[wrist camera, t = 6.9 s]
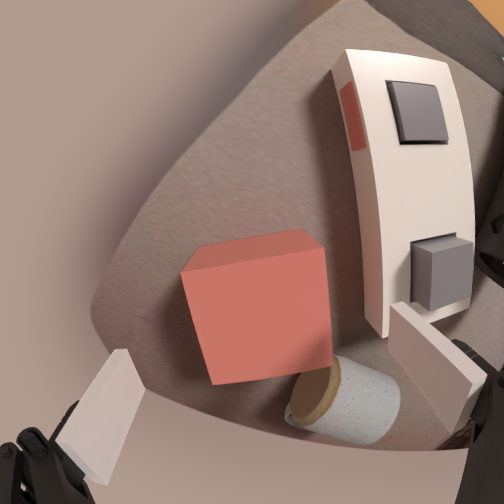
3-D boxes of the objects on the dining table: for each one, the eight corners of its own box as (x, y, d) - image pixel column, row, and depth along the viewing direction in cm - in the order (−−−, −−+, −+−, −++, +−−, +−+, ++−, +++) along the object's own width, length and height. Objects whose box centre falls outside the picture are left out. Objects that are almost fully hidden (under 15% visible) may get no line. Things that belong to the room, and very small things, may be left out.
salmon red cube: (311, 319, 24) (332, 365, 17) (220, 334, 24) (212, 385, 17) (300, 228, 22) (324, 247, 15) (200, 246, 22) (180, 272, 15)
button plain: (442, 281, 21) (469, 297, 17) (404, 292, 21) (429, 311, 17) (443, 233, 20) (473, 242, 16) (403, 240, 20) (432, 252, 16)
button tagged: (421, 145, 20) (449, 140, 16) (381, 146, 20) (405, 139, 16) (411, 98, 19) (436, 86, 15) (370, 96, 19) (392, 81, 15)
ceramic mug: (323, 334, 24) (347, 388, 17) (383, 361, 25) (414, 408, 18) (264, 408, 26) (267, 464, 19) (324, 425, 27) (338, 475, 20)
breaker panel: (446, 293, 24) (469, 307, 20) (362, 317, 24) (379, 339, 20) (423, 75, 19) (446, 62, 15) (328, 69, 19) (342, 49, 15)
